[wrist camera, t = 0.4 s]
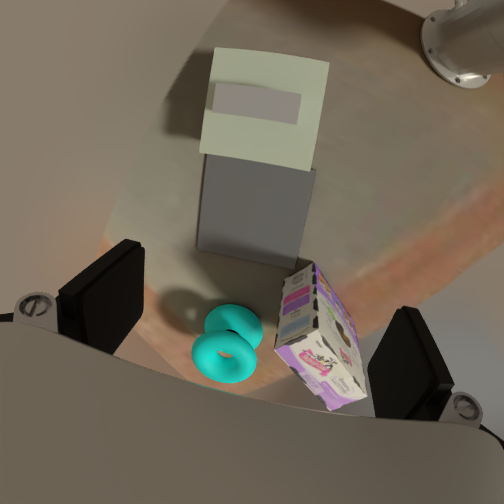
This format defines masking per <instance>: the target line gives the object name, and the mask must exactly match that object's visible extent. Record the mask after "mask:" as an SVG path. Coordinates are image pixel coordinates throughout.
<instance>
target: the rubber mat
mask: <svg viewBox="0 0 504 504" xmlns="http://www.w3.org/2000/svg"><path fill="white" fill-rule="evenodd" d="M315 174H316V170H314V169H310V172H309V171H304V170H299V169H294V168H289V167H284V166H279V165H274V164H268V163H263V162H257V161H251V160H245V159H239V158H233V157H226V156H219V155H212V154H207V160H206V168H205V176H204V185H203V194H202V203H201V213H200V223H199V234H198V245H197V250H202V251H206V252H211V253H216V254H221V255H225V256H230V257H235V258H240V259H244V260H249V261H254V262H259V263H264V264H268V265H273V266H278V267H283V268H288V269H293V270H294V269H295V264H296V260H297V256H298V252H299V247H300V243H301V239H302V234H303V230H304V226H305V221H306V217H307V212H308V207H309V203H310V198H311V194H312V189H313V184H314V179H315Z"/></svg>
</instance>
